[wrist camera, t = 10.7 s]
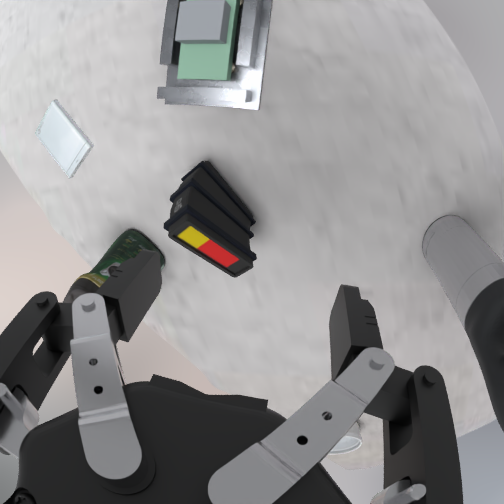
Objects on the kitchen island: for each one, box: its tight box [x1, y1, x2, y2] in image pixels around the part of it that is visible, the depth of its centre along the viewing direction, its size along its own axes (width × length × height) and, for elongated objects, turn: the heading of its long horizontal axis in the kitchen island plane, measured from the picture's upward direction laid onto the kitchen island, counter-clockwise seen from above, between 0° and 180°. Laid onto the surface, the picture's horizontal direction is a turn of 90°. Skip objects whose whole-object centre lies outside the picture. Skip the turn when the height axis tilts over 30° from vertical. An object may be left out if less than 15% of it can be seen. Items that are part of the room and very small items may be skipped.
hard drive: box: [35, 100, 94, 178], centre depth 42 cm, size 2×8×12 cm
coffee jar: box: [63, 230, 164, 303], centre depth 43 cm, size 10×8×19 cm
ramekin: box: [328, 422, 362, 455], centre depth 67 cm, size 13×13×7 cm
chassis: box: [157, 0, 272, 110], centre depth 29 cm, size 21×13×6 cm, turn 174°
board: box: [175, 0, 240, 81], centre depth 26 cm, size 14×6×5 cm, turn 174°
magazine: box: [164, 161, 257, 277], centre depth 38 cm, size 4×13×15 cm, turn 38°
